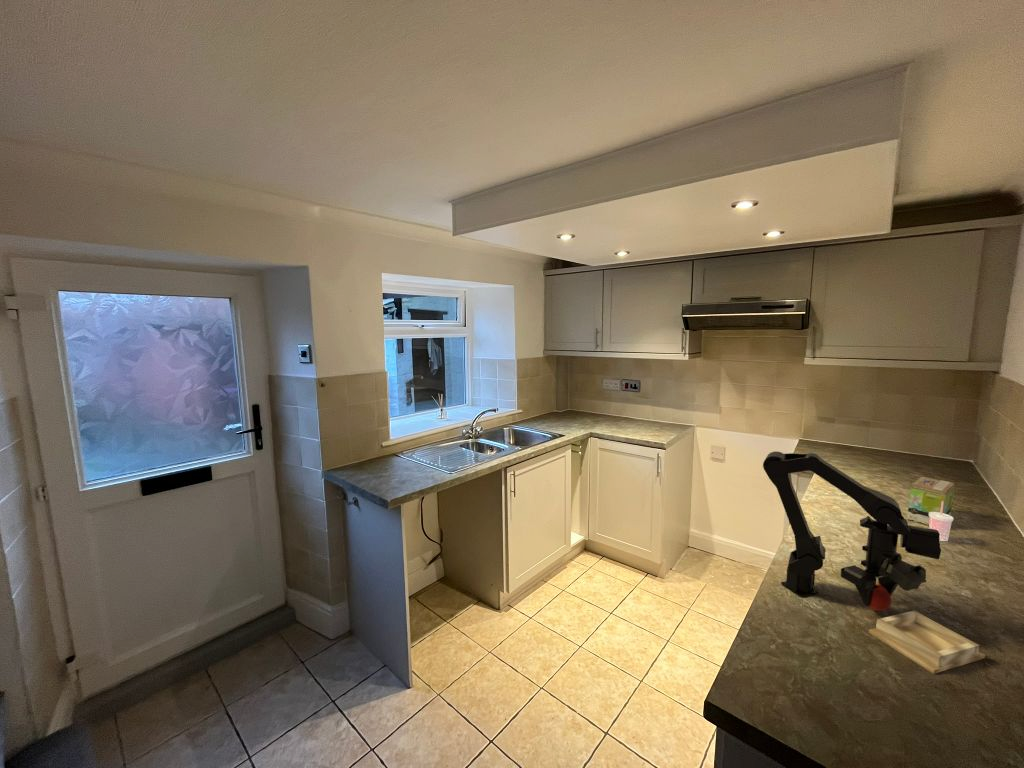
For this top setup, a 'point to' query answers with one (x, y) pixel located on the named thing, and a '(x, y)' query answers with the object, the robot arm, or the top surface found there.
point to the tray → (926, 641)
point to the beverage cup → (941, 523)
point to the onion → (880, 599)
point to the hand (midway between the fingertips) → (875, 603)
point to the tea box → (929, 498)
